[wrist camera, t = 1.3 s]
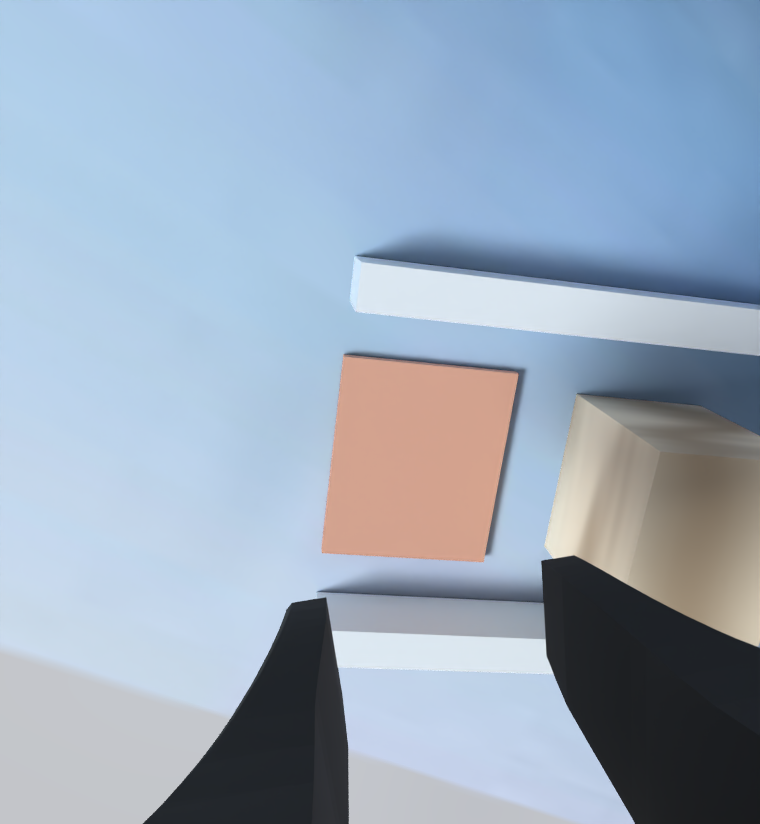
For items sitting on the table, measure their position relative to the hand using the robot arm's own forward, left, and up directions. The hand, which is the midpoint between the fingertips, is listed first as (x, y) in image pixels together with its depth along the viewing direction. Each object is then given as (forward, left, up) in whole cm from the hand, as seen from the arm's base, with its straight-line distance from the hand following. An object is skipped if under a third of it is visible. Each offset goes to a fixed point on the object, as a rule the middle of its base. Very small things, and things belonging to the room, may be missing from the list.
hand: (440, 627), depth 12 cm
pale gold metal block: (-7, 0, -8) cm, 11 cm away
